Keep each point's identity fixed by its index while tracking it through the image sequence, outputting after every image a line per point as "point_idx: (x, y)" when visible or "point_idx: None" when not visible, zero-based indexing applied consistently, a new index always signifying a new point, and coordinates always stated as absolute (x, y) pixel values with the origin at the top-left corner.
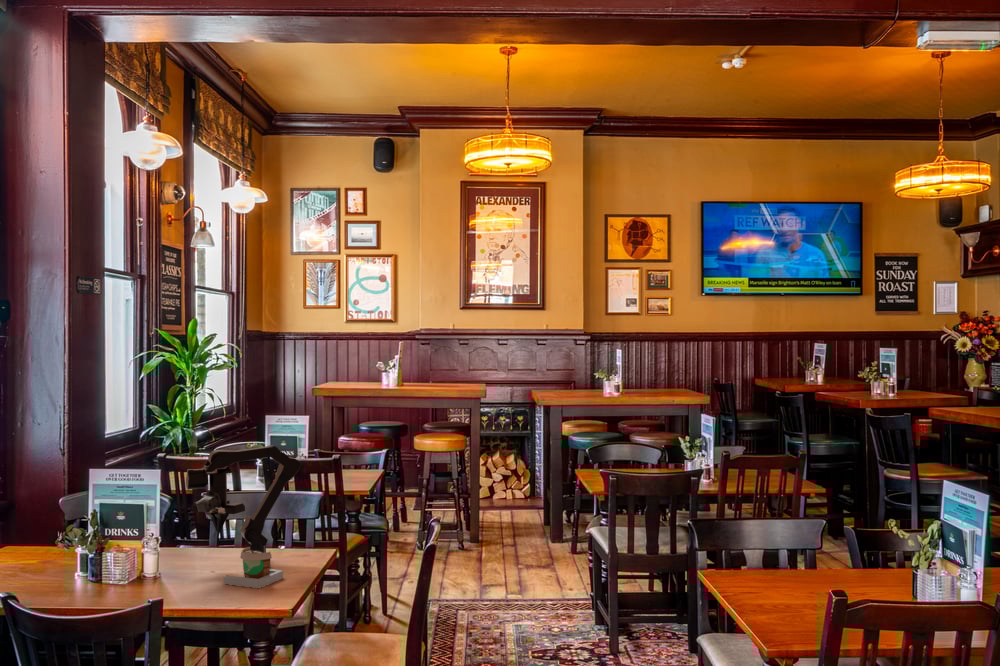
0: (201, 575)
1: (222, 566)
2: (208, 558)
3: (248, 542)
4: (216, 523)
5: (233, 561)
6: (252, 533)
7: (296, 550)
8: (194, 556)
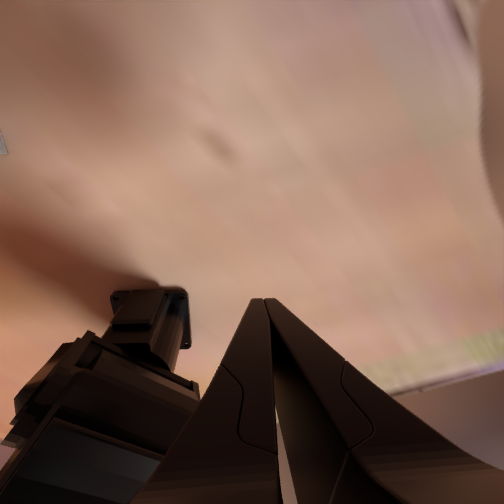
0: (222, 59)
1: (235, 228)
2: (361, 297)
3: (180, 377)
4: (290, 367)
5: (243, 295)
6: (22, 401)
7: None
8: (425, 301)
